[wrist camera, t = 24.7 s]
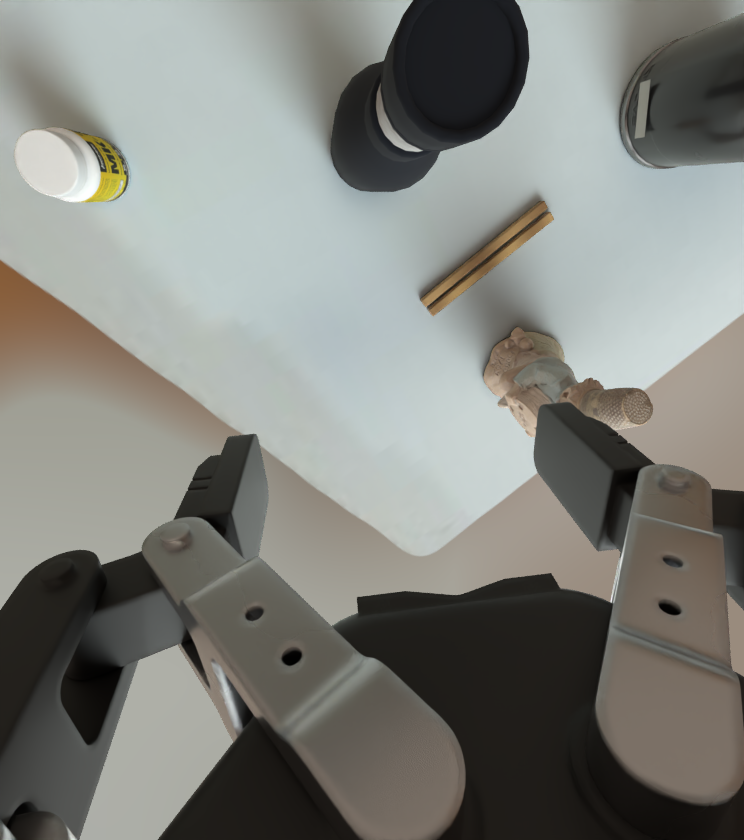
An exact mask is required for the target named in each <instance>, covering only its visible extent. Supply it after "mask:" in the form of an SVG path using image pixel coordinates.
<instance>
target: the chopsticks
mask: <svg viewBox="0 0 744 840" xmlns="http://www.w3.org/2000/svg"><path fill="white" fill-rule="evenodd" d="M547 208H548V207H547V205H546V203H545V202H544V201H540V202H539V203H537V204H536V205H535V206H534V207H532V208H531V209H530V210H529V211H528V212H526V213H525V214H524V215H523V216H521V217H520V218H519V219H518V220H517V221H515V222H514V223H513V224H512V225H510V226H509V227H508V228H507V229H506V230H504V231H503V232H502V233H501V234H499V235H498V236H497V237H496V238H495V239H493V240H492V241H491V242H490V243H488V244H487V245H486V246H485V247H484V248H482V249H481V250H480V251H479V252H477V253H476V254H475V255H474V256H473V257H471V258H470V259H469V260H468V261H466V262H465V263H464V264H463V265H462V266H460V267H459V268H458V269H457V270H455V271H454V272H453V273H452V274H451V275H449V276H448V277H447V278H446V279H444V280H443V281H442V282H441V283H440V284H438V285H437V286H436V287H435V288H433V289H432V290H431V291H430V292H429V293H427V294H426V295H425V296H424V297H422V298H421V299H420V300H421V302H422V303H423V304H424V306H425V307H427V306H428V305H429V304H430V303H432V302H433V301H434V300H435V299H437V298H438V297H439V296H440V295H442V294H443V293H444V292H445V291H446V290H448V289H449V288H450V287H451V286H453V285H454V284H455V283H456V282H458V281H459V280H460V279H461V278H463V277H464V276H465V275H466V274H467V273H469V272H470V271H471V270H472V269H474V268H475V267H476V266H477V265H479V264H480V263H481V262H482V261H483V260H485V259H486V258H487V257H488V256H490V255H491V254H492V253H493V252H495V251H496V250H497V249H498V248H499V247H501V246H502V245H503V244H504V243H506V242H507V241H508V240H509V239H511V238H512V237H513V236H514V235H515V234H517V233H518V232H519V231H520V230H522V229H523V228H524V227H525V226H527V225H528V224H529V223H530V222H532V221H533V220H534V219H535V218H536V217H538V216H539V215H540V214H541V213H543V212H544V211H545V210H546V209H547ZM553 220H554V218H553V216H552V214H551V212H546V213H545V214H544V215H542V216H541V217H540V218H539V219H537V220H536V221H535V222H534V223H532V224H531V225H530V226H529V227H527V228H526V229H525V230H524V231H523V232H521V233H520V234H519V235H518V236H516V237H515V238H514V239H513V240H511V241H510V242H509V243H508V244H506V245H505V246H504V247H503V248H502V249H500V250H499V251H498V252H497V253H495V254H494V255H493V256H492V257H490V258H489V259H488V260H487V261H485V262H484V263H483V264H482V265H481V266H479V267H478V268H477V269H476V270H474V271H473V272H472V273H471V274H469V275H468V276H467V277H466V278H464V279H463V280H462V281H461V282H460V283H458V284H457V285H456V286H455V287H453V288H452V289H451V290H450V291H448V292H447V293H446V294H445V295H444V296H442V297H441V298H440V299H439V300H437V301H436V302H435V303H434V304H432V305H431V306H430V307H429V308H428V309H427V310H428V311H429V312H430V314H431V315H432V316H434V315H435V314H437V313H438V312H439V311H440V310H442V309H443V308H444V307H445V306H447V305H448V304H449V303H450V302H452V301H453V300H454V299H455V298H457V297H458V296H459V295H460V294H462V293H463V292H464V291H465V290H467V289H468V288H469V287H470V286H472V285H473V284H474V283H475V282H477V281H478V280H479V279H480V278H482V277H483V276H484V275H485V274H487V273H488V272H489V271H490V270H492V269H493V268H494V267H495V266H497V265H498V264H499V263H500V262H501V261H503V260H504V259H505V258H506V257H508V256H509V255H510V254H511V253H513V252H514V251H515V250H516V249H518V248H519V247H520V246H521V245H523V244H524V243H525V242H526V241H528V240H529V239H530V238H531V237H533V236H534V235H535V234H536V233H538V232H539V231H540V230H541V229H543V228H544V227H545V226H546V225H548V224H549V223H550V222H551V221H553Z"/></svg>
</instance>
